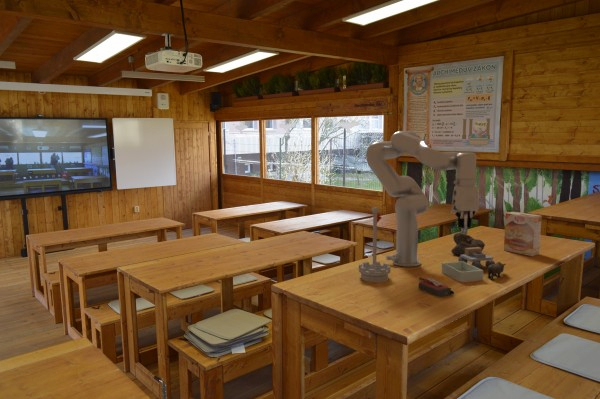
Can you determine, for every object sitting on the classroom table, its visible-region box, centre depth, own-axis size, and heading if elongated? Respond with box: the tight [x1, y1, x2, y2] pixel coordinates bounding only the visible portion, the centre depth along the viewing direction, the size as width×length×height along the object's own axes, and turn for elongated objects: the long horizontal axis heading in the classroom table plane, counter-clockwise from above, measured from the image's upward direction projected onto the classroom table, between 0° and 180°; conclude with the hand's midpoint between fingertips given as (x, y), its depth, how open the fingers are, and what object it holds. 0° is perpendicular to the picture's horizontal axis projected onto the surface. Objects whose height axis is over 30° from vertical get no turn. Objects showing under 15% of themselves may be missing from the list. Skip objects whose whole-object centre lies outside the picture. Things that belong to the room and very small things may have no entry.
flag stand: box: [358, 206, 391, 283], centre depth 193 cm, size 13×13×30 cm
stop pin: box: [460, 211, 468, 235], centre depth 193 cm, size 4×4×11 cm
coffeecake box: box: [503, 211, 543, 257], centre depth 232 cm, size 15×7×20 cm, turn 37°
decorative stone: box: [450, 231, 486, 256], centre depth 232 cm, size 16×11×15 cm
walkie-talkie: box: [418, 276, 455, 298], centre depth 181 cm, size 9×4×20 cm
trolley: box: [457, 247, 496, 270], centre depth 209 cm, size 11×14×8 cm
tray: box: [441, 261, 484, 283], centre depth 196 cm, size 10×14×4 cm
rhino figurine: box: [486, 261, 507, 281], centre depth 196 cm, size 4×14×6 cm, turn 133°
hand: (464, 226), depth 193 cm, fingers closed on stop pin, 2 cm apart
